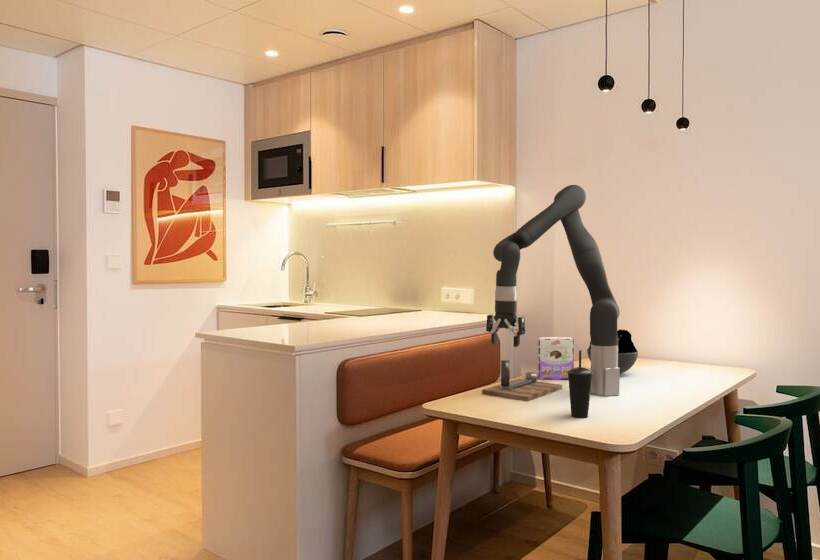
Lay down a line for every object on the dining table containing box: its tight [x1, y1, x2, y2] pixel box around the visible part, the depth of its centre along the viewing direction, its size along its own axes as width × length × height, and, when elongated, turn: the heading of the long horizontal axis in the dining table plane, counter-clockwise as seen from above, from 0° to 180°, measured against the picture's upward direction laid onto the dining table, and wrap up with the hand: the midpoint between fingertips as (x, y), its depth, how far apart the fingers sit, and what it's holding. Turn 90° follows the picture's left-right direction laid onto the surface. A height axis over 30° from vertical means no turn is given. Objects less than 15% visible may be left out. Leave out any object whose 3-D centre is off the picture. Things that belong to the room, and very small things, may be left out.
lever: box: [500, 359, 538, 390], centre depth 231 cm, size 22×4×10 cm, turn 141°
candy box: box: [536, 336, 575, 381], centre depth 254 cm, size 14×6×16 cm, turn 84°
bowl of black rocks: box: [586, 328, 639, 375], centre depth 263 cm, size 20×20×19 cm
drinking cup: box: [567, 350, 593, 419], centre depth 194 cm, size 8×8×20 cm
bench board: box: [481, 378, 563, 402], centre depth 230 cm, size 26×18×2 cm
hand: (505, 345), depth 224 cm, fingers open, 8 cm apart
